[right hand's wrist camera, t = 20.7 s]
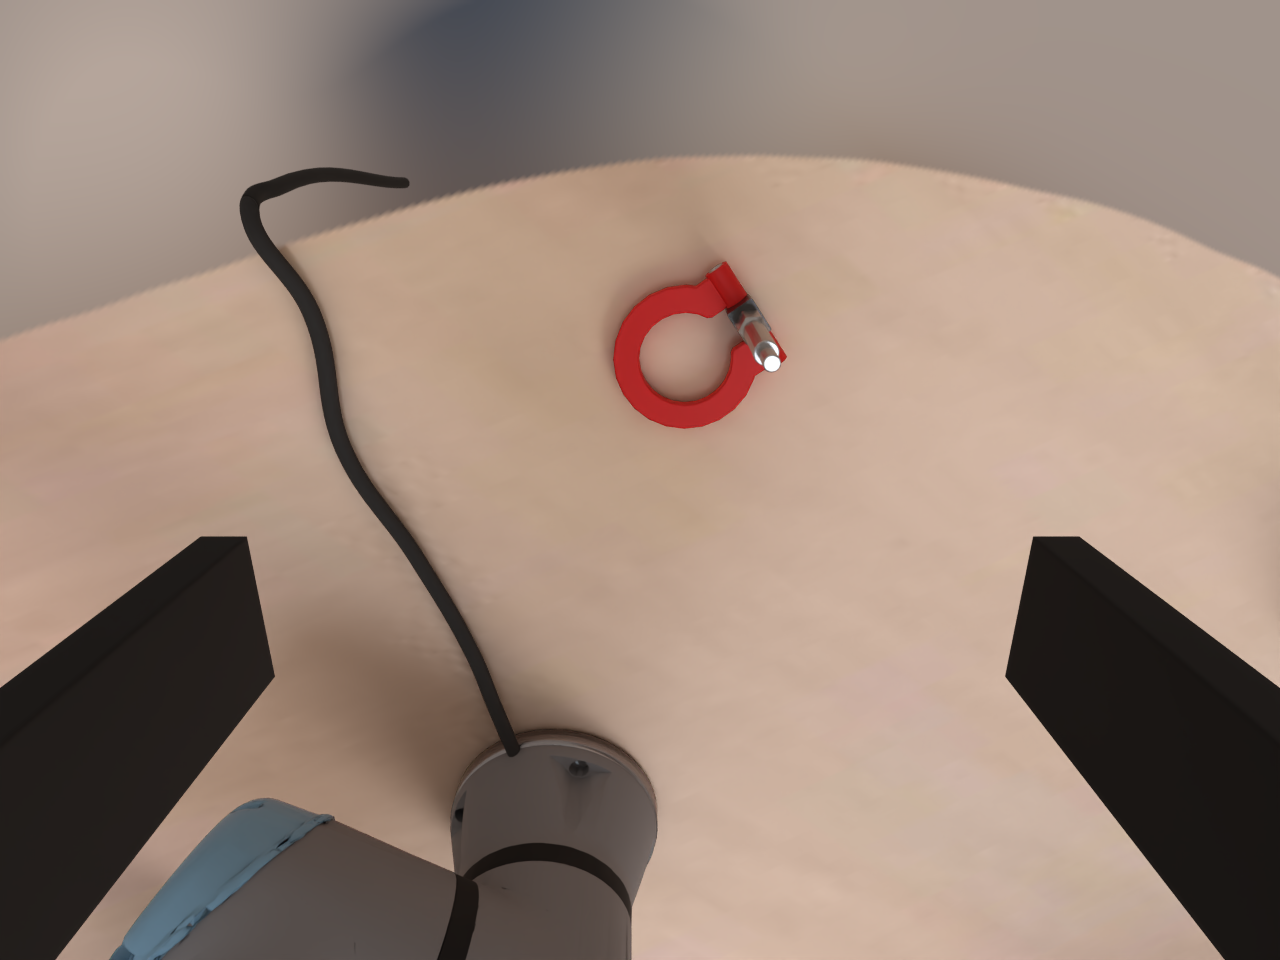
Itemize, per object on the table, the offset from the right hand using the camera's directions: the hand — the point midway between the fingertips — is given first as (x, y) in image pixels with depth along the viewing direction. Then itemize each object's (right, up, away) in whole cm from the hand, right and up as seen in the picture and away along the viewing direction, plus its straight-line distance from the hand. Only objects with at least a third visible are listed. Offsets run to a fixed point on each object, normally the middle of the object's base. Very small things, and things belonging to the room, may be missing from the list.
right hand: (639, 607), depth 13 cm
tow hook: (+3, +10, +32) cm, 33 cm away
